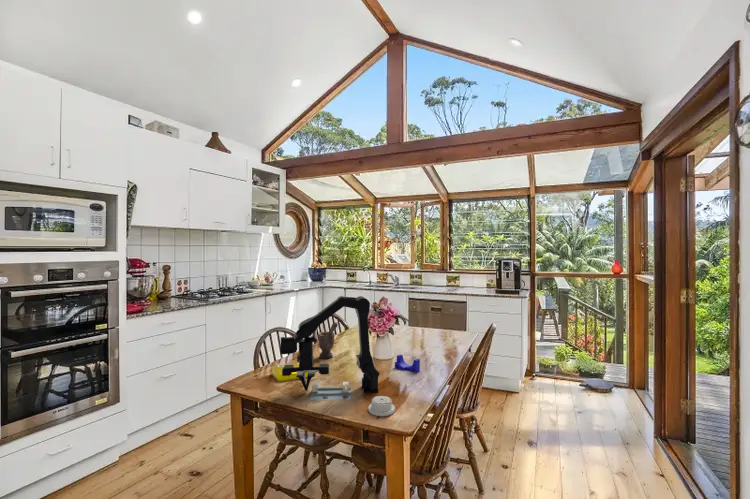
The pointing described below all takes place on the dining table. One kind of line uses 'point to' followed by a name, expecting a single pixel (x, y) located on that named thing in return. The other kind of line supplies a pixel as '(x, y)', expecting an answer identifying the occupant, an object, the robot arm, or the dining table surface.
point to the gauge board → (333, 393)
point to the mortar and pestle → (327, 342)
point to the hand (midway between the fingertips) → (306, 390)
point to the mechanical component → (381, 406)
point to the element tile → (278, 375)
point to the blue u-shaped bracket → (403, 366)
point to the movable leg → (315, 387)
